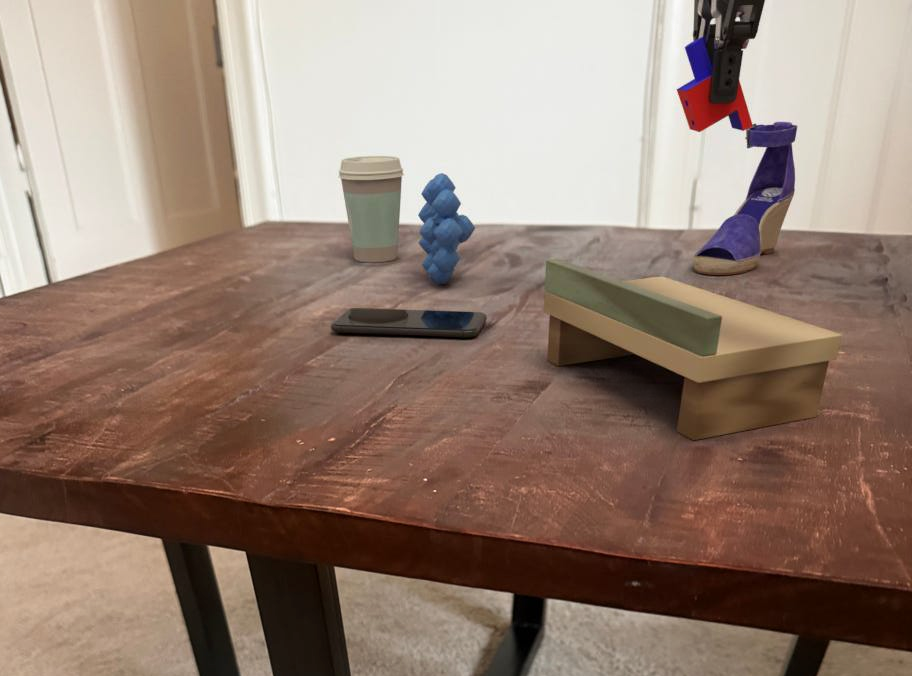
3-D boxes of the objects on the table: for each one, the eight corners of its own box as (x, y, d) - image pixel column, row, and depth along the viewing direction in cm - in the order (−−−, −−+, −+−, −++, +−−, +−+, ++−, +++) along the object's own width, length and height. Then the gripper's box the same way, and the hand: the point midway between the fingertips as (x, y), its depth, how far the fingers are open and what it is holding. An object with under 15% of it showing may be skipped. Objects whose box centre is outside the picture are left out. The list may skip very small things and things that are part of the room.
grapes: (488, 291, 101) (489, 175, 94) (431, 296, 100) (429, 178, 93) (463, 271, 110) (462, 164, 104) (411, 275, 109) (407, 167, 103)
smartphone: (488, 320, 90) (349, 315, 93) (488, 311, 90) (348, 306, 92) (476, 339, 84) (328, 334, 87) (476, 330, 84) (327, 325, 86)
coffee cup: (375, 250, 124) (370, 154, 117) (419, 256, 119) (416, 157, 113) (331, 260, 119) (323, 160, 112) (376, 267, 114) (370, 163, 107)
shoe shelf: (654, 343, 82) (665, 246, 77) (823, 416, 65) (851, 297, 60) (541, 360, 78) (545, 259, 73) (689, 442, 61) (707, 317, 56)
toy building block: (696, 148, 79) (665, 56, 75) (741, 122, 78) (712, 27, 74) (706, 152, 76) (674, 56, 72) (753, 125, 75) (723, 26, 71)
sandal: (668, 269, 109) (685, 130, 100) (752, 246, 120) (774, 119, 111) (726, 278, 104) (749, 133, 95) (808, 253, 115) (835, 121, 106)
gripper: (836, -187, 60) (786, 105, 70) (767, -148, 72) (732, 97, 82) (728, -184, 60) (693, 108, 70) (676, -145, 72) (652, 100, 82)
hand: (714, 100), depth 76 cm, fingers closed on toy building block, 3 cm apart
